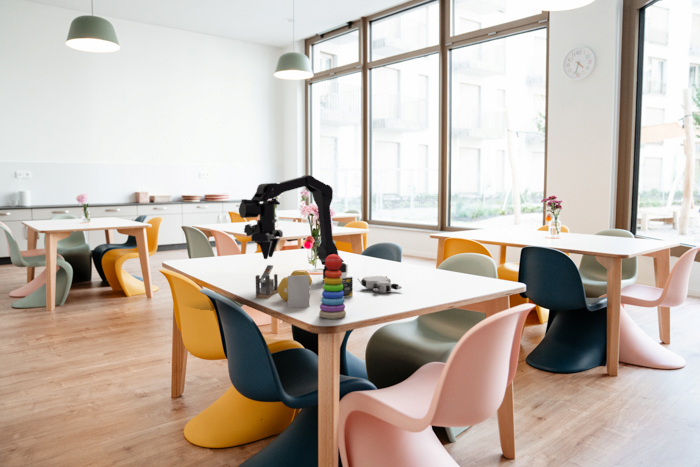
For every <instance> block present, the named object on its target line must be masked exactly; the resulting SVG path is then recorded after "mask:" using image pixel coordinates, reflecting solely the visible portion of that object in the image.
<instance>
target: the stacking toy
mask: <svg viewBox="0 0 700 467" xmlns="http://www.w3.org/2000/svg"><path fill="white" fill-rule="evenodd" d="M338 255H339V254H338ZM338 255H336V254H331V255H329V256H328V257H327V258H326V260H325V265H326V267H327V269H328V270H327V271H326V272H325V276H326V277H325V278H324V279H323V280H324V281H323V282H324V284H323V286H322V288H323V290H322V292H321V295H322V297H321V299H320V301H321V303H320V304H319V309H320V310H319V313H318V315H319V317H321V318H324V319H327V320H337V319H338V320H339V319H342V318H344V317H346V314H347V311H346V310H345V309H346V305H345V304H344V303H345V301H346V299H345V297H343V295H344V292H343V291H342V289H343V285H342V284H341V283H342V278H340V277H341V275H342V272H341V271H340V270H339V269H340V267H341V265H342V260H343V259H342V258H341V256H338ZM341 259H342V260H341ZM325 265H324V266H325Z"/></svg>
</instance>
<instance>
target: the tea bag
mask: <svg viewBox="0 0 700 467" xmlns="http://www.w3.org/2000/svg"><path fill="white" fill-rule="evenodd" d="M309 275H310V274H309ZM309 275H302V276H290V275H288V276H287V277H288V301H287V307H288V309H290V308H308V307H311V305H310V287H309Z"/></svg>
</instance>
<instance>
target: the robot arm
mask: <svg viewBox="0 0 700 467" xmlns="http://www.w3.org/2000/svg"><path fill="white" fill-rule="evenodd" d="M303 187H305V188H306V190H307V191H308V192H309V193H311V194H312V197H313V201H314V203H315V205H316V206H317V211H318V213H317V214H318V223H319V233H320V242H319V245H316V256H317V257H318V260H319V261H320V262H321V265H323V267H324V268H323V269H322V279H323V282H324V278H325V277H326V276H325V272H326V271H327V270H328V269H327V267H326V265H325V260H326V258H327V257H328V256H329V255H331V254H336V255H338V256H339V251H338V246H336V244H335V242H334V240H333V229H332V228H333V227H332V219H331V204H332V202H333V196H334V193H333V192H334V191H333V187H332V186H330V185H329V184H326V183H324V182H323V181H321V180H319V179H317V178H315V177H314V176H312V175H311V174H309V175H302V176H299V177H296V178H295V177H294V178H291V179H287V180H285V181H280V182H269V183H266V182H265V183H260V184H259V185H257V188H256V192H255V193H254V194H253V196H252V198H251V199H246V198H243V199H240V200H241V202H240V205H239V207H238V213H239V217H240V218H241V219H247V218H248V219H249V218H250V219H251V218H258V217H259V219H258V220H257V221H256V224H253V225H252V224H251V223H248V224H246V225H244V228H243V233H245V234H246V236H247V237H250V239H251V242H254V243H255V244H258V246H259V248H260V250H261V253H262V257H263V260H267V259H268V258H272V257H273V255H274V253H275V251H276V248H277V246H278V244H279V241H280V240H281V239H280V238H282V237H283V235H284V234H283V231H282V230H281V229H276V223H277V221H278V220H277V219H276V211H275V210H276V209H275V208H276V206H277V205H279V206H280V204H281V203H280V202H279V201H278V200H277V197H278V196H281V195H282V194H283V193H285V192H289V191H293V190H297V189H300V188H303ZM277 237H278V238H277ZM339 257H340V256H339ZM341 260H342V262H345V261H344V259H342V258H341Z"/></svg>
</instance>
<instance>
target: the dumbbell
mask: <svg viewBox="0 0 700 467" xmlns="http://www.w3.org/2000/svg"><path fill="white" fill-rule="evenodd" d="M302 275H309V288H310V287H311V286H312V283H313V280H312V277H311V276H310V274H309V272H308V271H307V270H304V269H303V270H301V269H295V270H294V271H292V272H291V274H290V275H289V276H302ZM277 291H278V295H279V297H280V298H281V300H283V301H284V302H288V276H284V277H283V278H282V279H281V281H280V282H279V284H278V288H277Z"/></svg>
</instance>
